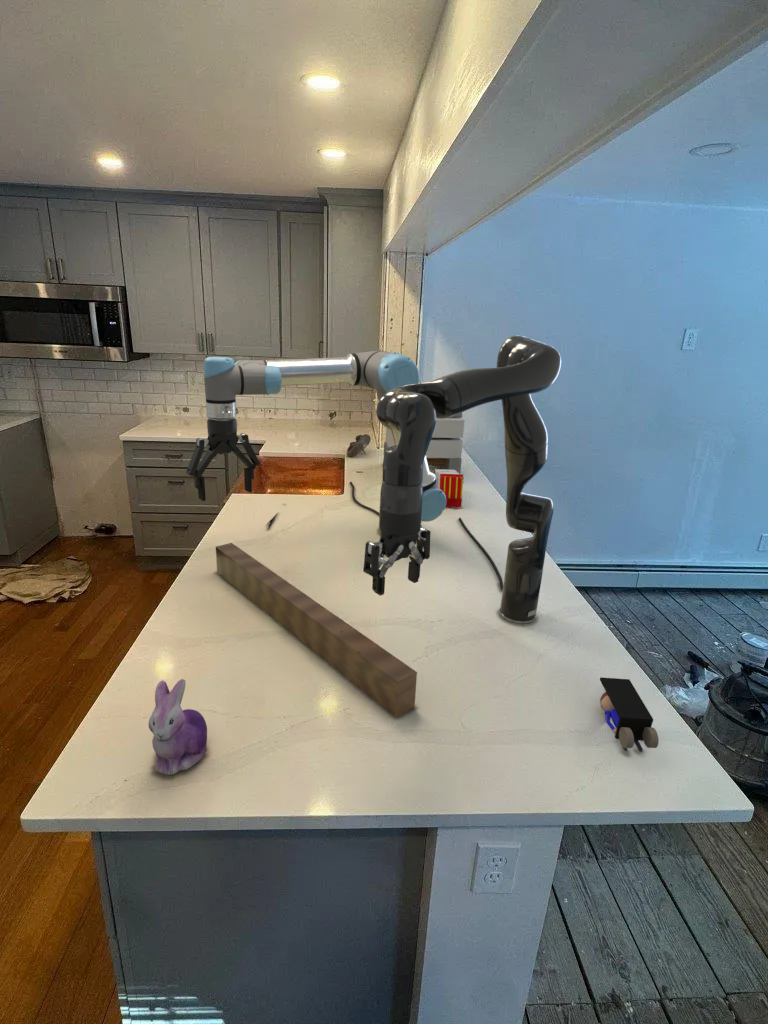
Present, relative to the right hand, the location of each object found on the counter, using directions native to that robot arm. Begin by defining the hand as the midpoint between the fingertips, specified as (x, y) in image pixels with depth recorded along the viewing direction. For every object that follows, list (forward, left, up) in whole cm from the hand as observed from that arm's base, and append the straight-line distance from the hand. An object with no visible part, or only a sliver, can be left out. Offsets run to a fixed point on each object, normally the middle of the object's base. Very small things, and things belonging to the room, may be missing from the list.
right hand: (396, 587), depth 106 cm
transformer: (-166, -41, -26) cm, 173 cm away
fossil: (-188, -82, -26) cm, 207 cm away
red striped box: (-135, -21, -26) cm, 139 cm away
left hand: (-35, -61, -1) cm, 70 cm away
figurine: (+28, -29, -26) cm, 48 cm away
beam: (-18, -30, -26) cm, 44 cm away
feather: (-83, -73, -26) cm, 114 cm away
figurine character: (-9, +44, -26) cm, 52 cm away
